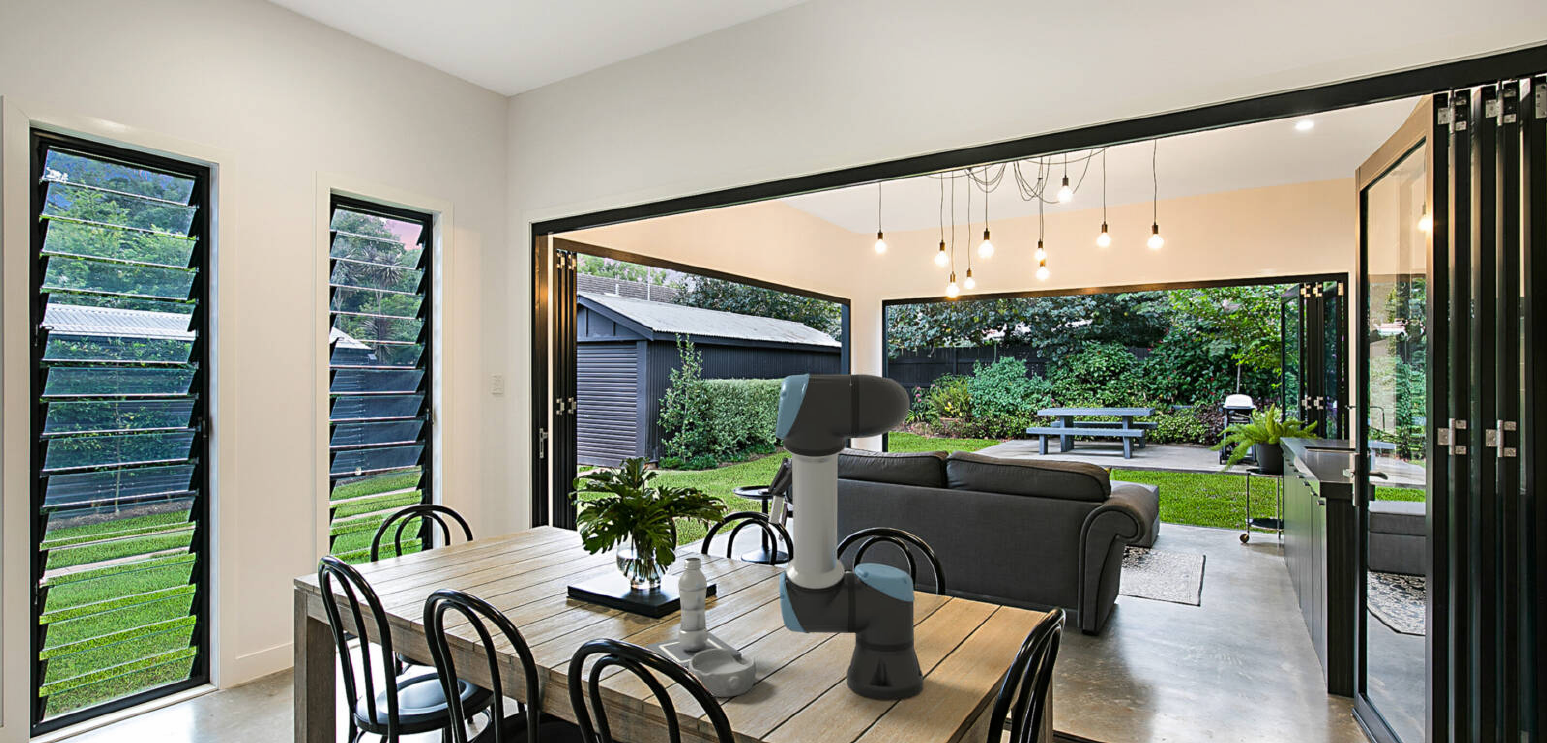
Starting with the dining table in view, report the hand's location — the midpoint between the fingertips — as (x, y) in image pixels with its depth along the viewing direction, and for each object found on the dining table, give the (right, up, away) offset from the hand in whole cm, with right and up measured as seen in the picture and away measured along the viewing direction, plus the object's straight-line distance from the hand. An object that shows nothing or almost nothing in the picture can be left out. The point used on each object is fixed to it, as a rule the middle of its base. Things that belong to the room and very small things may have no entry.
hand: (791, 526), depth 176 cm
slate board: (-22, -26, -12) cm, 36 cm away
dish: (-15, -26, -29) cm, 42 cm away
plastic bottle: (-22, -25, -13) cm, 36 cm away
